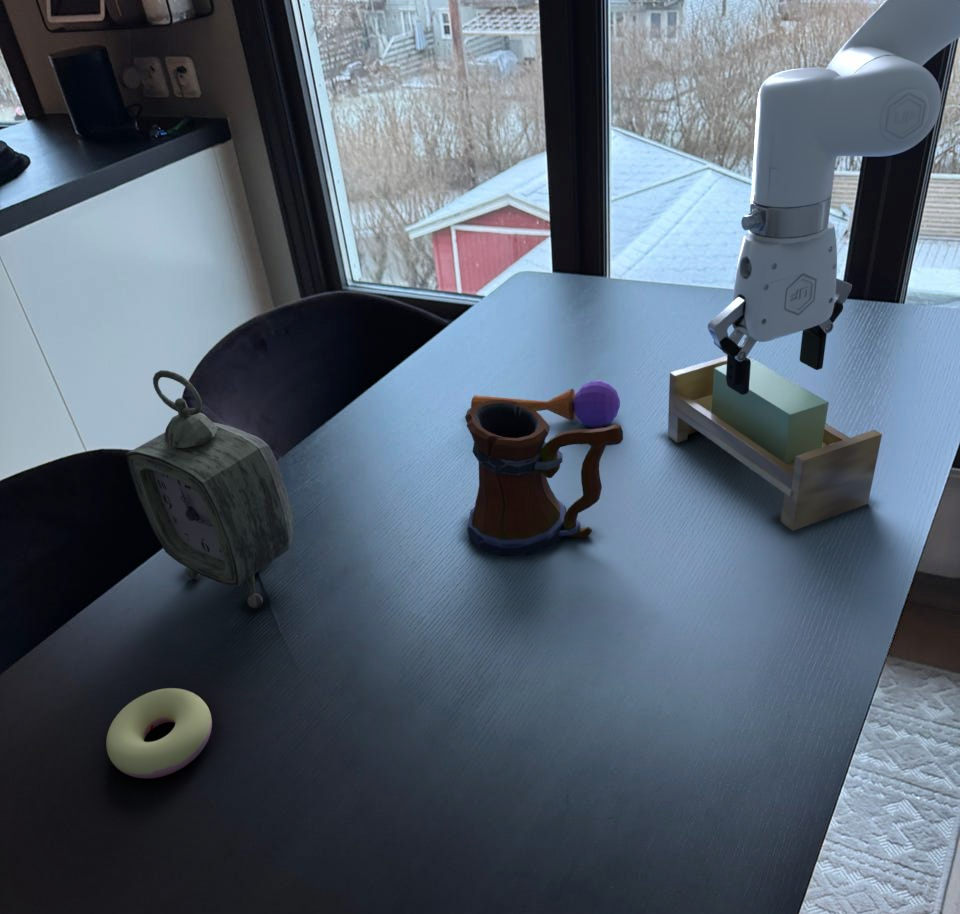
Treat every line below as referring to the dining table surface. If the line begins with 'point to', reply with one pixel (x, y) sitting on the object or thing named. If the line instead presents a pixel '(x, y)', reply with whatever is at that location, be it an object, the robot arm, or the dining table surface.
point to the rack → (805, 482)
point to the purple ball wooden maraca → (575, 403)
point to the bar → (771, 412)
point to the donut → (167, 751)
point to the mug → (527, 478)
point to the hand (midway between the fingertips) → (774, 377)
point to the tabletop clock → (212, 495)
